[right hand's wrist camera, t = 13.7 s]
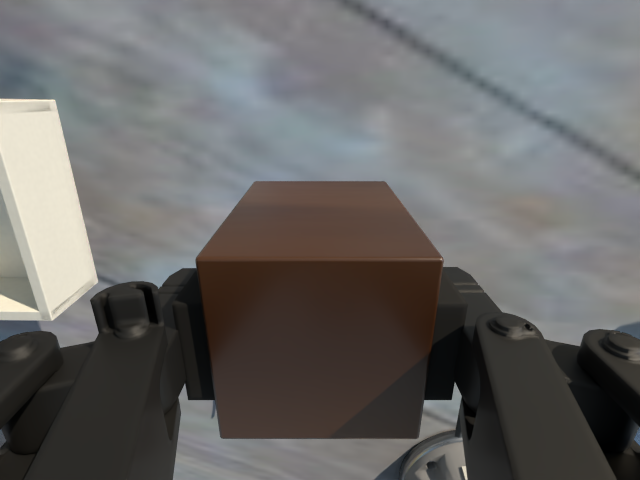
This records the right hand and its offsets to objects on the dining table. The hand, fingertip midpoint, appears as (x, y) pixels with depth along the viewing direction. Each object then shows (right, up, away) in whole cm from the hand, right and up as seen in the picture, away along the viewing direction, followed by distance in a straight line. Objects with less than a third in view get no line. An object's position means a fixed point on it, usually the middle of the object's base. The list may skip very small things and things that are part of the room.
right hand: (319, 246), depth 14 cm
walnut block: (0, 0, 0) cm, 0 cm away
